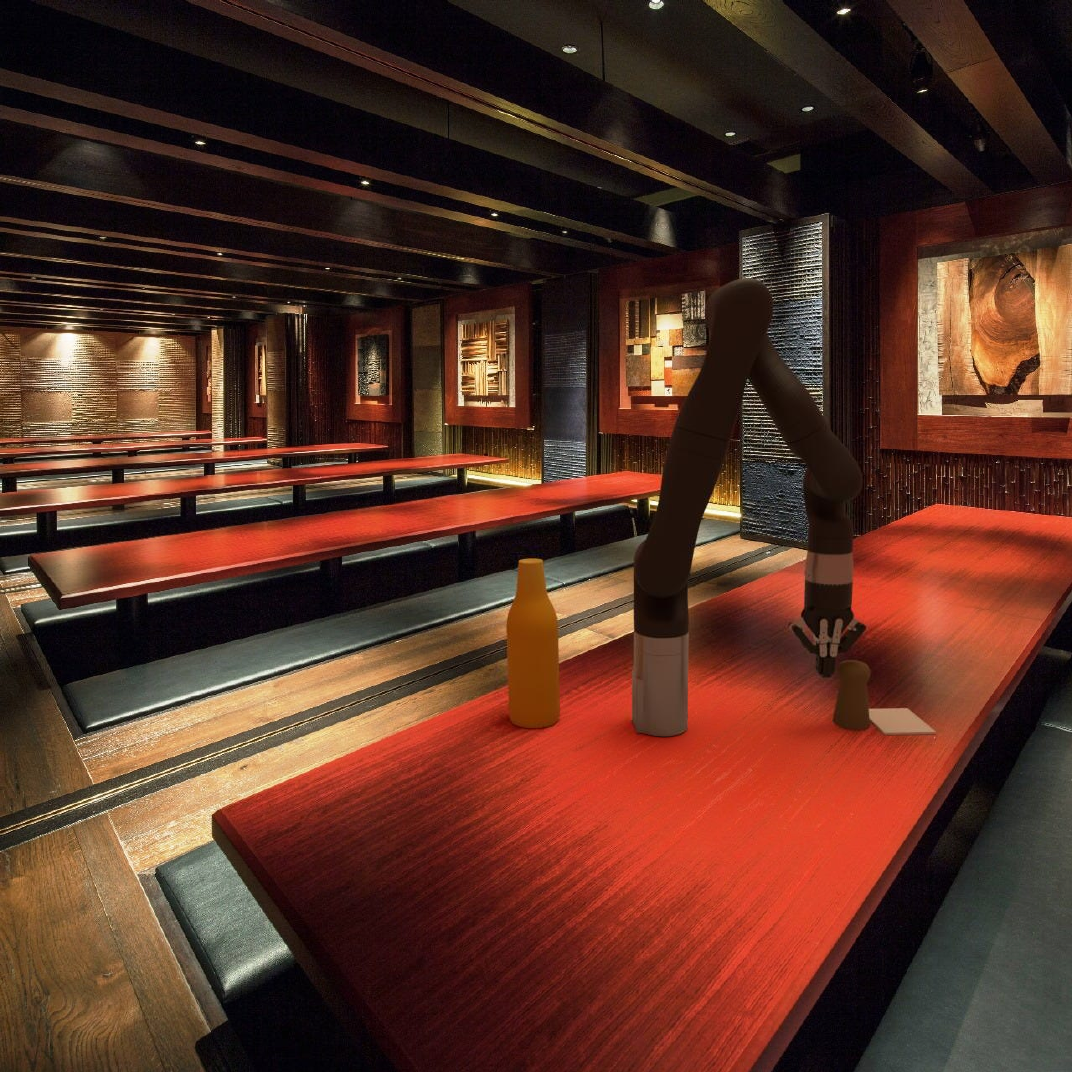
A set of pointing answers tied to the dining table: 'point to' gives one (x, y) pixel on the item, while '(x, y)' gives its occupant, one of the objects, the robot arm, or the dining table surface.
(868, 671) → the cork
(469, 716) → the dining table surface
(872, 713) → the mat
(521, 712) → the beer bottle
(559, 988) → the dining table surface
